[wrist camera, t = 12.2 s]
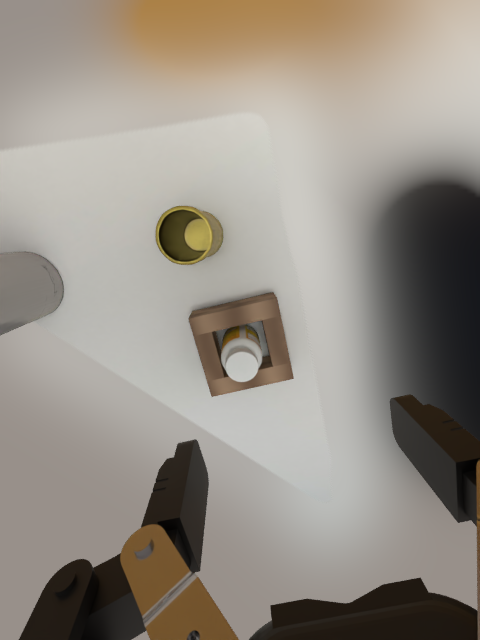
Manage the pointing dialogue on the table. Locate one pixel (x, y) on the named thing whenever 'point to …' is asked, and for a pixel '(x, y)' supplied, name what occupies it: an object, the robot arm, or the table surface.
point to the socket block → (235, 315)
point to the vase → (188, 235)
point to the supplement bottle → (241, 353)
